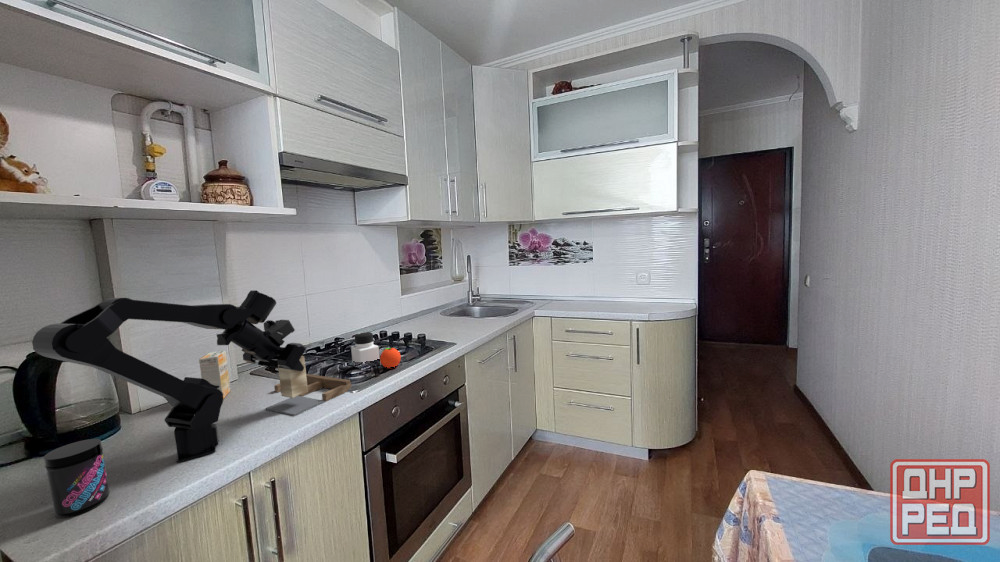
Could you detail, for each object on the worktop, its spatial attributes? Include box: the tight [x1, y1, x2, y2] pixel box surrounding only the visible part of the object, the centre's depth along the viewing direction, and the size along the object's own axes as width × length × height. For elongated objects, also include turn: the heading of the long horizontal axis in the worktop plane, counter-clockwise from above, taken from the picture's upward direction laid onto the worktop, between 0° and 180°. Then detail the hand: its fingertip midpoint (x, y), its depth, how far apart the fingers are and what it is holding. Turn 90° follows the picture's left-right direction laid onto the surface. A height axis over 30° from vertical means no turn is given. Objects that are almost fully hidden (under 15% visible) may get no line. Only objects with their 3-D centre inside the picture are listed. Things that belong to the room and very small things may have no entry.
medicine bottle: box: [350, 331, 381, 362], centre depth 138 cm, size 7×7×12 cm
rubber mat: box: [265, 396, 326, 417], centre depth 106 cm, size 9×12×1 cm
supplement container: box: [43, 438, 111, 518], centre depth 67 cm, size 7×7×10 cm
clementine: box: [380, 347, 402, 369], centre depth 135 cm, size 8×7×7 cm
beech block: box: [277, 355, 308, 398], centre depth 106 cm, size 5×5×10 cm
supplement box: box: [198, 350, 231, 400], centre depth 116 cm, size 8×5×13 cm, turn 22°
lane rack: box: [274, 373, 353, 402], centre depth 117 cm, size 9×22×3 cm, turn 63°
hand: (296, 368), depth 107 cm, fingers closed on beech block, 5 cm apart
